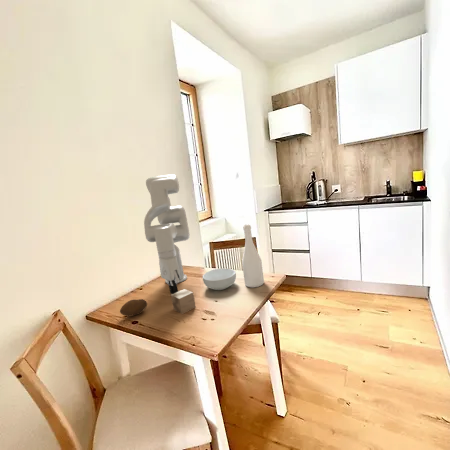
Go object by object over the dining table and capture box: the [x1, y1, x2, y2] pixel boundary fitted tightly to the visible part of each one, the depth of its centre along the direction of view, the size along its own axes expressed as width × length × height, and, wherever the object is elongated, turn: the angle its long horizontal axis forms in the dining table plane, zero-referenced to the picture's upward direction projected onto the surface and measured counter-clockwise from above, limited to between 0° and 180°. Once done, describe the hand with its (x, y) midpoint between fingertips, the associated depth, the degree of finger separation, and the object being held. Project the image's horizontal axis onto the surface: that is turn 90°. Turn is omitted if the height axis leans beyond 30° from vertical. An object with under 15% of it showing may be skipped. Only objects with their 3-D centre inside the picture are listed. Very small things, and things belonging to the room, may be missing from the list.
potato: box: [119, 298, 148, 317], centre depth 113 cm, size 7×12×7 cm, turn 131°
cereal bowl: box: [202, 267, 237, 291], centre depth 130 cm, size 17×17×7 cm
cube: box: [170, 288, 196, 315], centre depth 112 cm, size 7×7×7 cm
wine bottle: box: [241, 223, 265, 288], centre depth 125 cm, size 10×10×30 cm
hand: (174, 292), depth 116 cm, fingers closed
